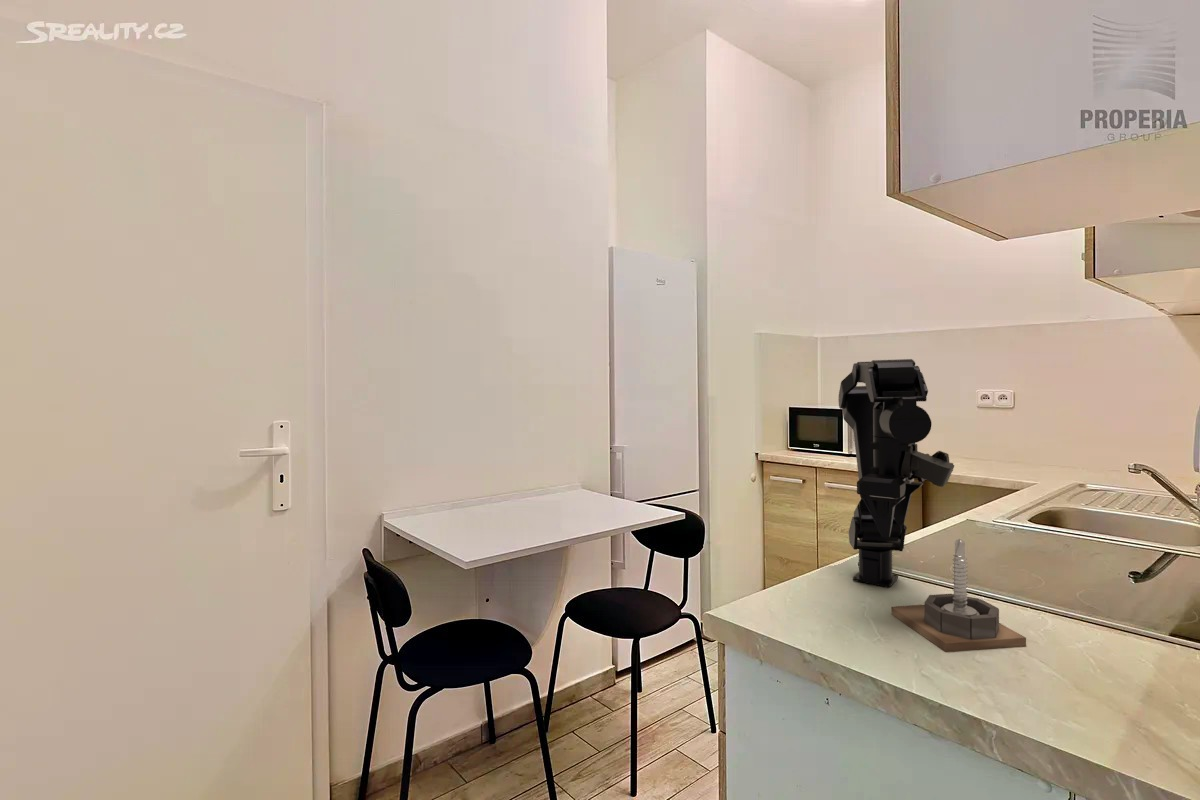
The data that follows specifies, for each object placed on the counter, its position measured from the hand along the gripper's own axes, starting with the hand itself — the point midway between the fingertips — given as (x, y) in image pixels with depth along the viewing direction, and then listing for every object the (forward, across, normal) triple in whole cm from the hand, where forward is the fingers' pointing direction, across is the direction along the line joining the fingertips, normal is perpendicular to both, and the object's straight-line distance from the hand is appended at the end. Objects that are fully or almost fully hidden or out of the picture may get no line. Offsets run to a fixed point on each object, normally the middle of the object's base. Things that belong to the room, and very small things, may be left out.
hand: (893, 530), depth 96 cm
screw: (+12, -4, -10) cm, 16 cm away
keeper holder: (+13, -3, -9) cm, 16 cm away
